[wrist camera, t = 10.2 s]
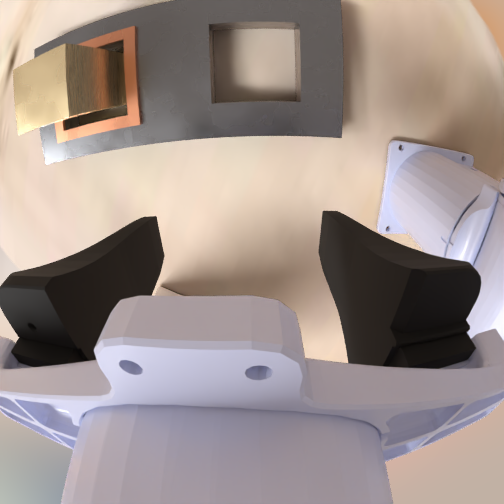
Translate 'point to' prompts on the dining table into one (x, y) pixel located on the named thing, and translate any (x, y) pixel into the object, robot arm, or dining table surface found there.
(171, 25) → the socket rail
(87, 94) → the brass peg
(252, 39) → the dining table surface
